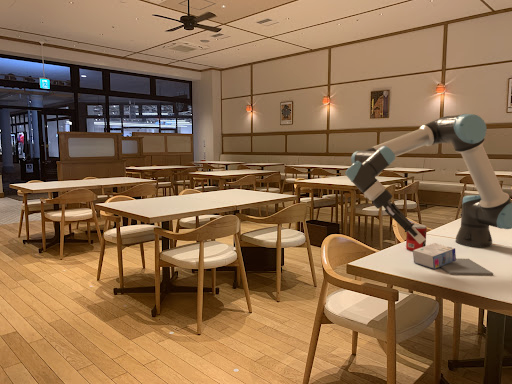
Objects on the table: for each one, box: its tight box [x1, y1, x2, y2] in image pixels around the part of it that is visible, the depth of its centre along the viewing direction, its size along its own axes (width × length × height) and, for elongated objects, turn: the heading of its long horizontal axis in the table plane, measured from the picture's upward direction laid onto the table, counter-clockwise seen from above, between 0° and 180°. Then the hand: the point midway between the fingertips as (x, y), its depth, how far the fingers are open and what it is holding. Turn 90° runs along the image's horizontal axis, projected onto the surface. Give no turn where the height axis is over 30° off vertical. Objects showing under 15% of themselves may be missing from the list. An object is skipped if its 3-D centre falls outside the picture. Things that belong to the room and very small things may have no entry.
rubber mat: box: [440, 258, 494, 276], centre depth 149 cm, size 15×18×1 cm
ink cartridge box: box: [412, 242, 457, 270], centre depth 153 cm, size 10×6×14 cm
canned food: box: [405, 223, 428, 252], centre depth 174 cm, size 8×8×11 cm
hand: (422, 241), depth 148 cm, fingers closed
